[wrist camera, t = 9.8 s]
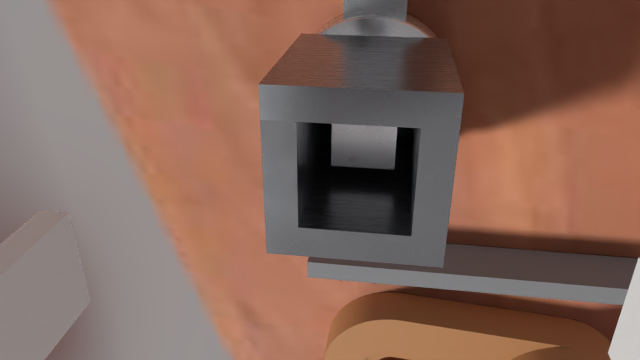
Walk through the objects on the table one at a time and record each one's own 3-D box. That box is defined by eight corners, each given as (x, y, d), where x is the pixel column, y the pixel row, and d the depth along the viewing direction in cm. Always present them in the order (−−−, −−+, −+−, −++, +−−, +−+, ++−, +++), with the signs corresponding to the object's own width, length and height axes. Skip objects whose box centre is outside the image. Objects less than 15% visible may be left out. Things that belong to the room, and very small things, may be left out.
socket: (303, 163, 27) (266, 253, 20) (301, 33, 25) (258, 84, 18) (433, 172, 27) (442, 267, 20) (447, 38, 24) (464, 93, 17)
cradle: (315, 233, 33) (307, 261, 30) (638, 258, 30) (660, 292, 28) (315, 403, 39) (309, 439, 36) (584, 434, 37) (597, 475, 34)
